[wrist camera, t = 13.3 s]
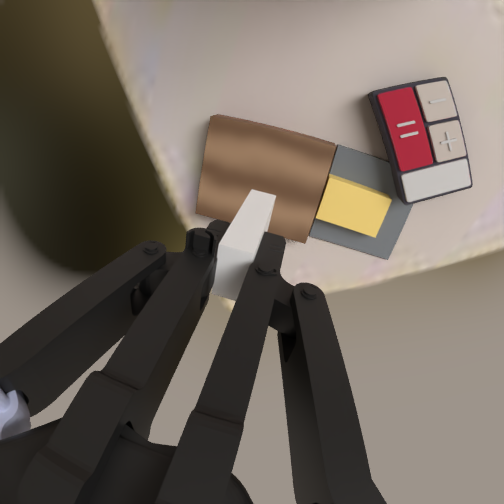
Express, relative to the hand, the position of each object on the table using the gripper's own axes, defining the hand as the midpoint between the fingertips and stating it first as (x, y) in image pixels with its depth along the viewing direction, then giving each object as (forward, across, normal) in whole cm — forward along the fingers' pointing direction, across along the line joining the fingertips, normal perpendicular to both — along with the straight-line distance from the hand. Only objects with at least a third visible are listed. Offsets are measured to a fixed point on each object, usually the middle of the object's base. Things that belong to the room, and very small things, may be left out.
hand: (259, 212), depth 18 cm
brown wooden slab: (+23, -2, -5) cm, 24 cm away
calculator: (+24, +17, +6) cm, 30 cm away
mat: (+23, +12, -6) cm, 27 cm away
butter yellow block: (+23, +10, -6) cm, 26 cm away
